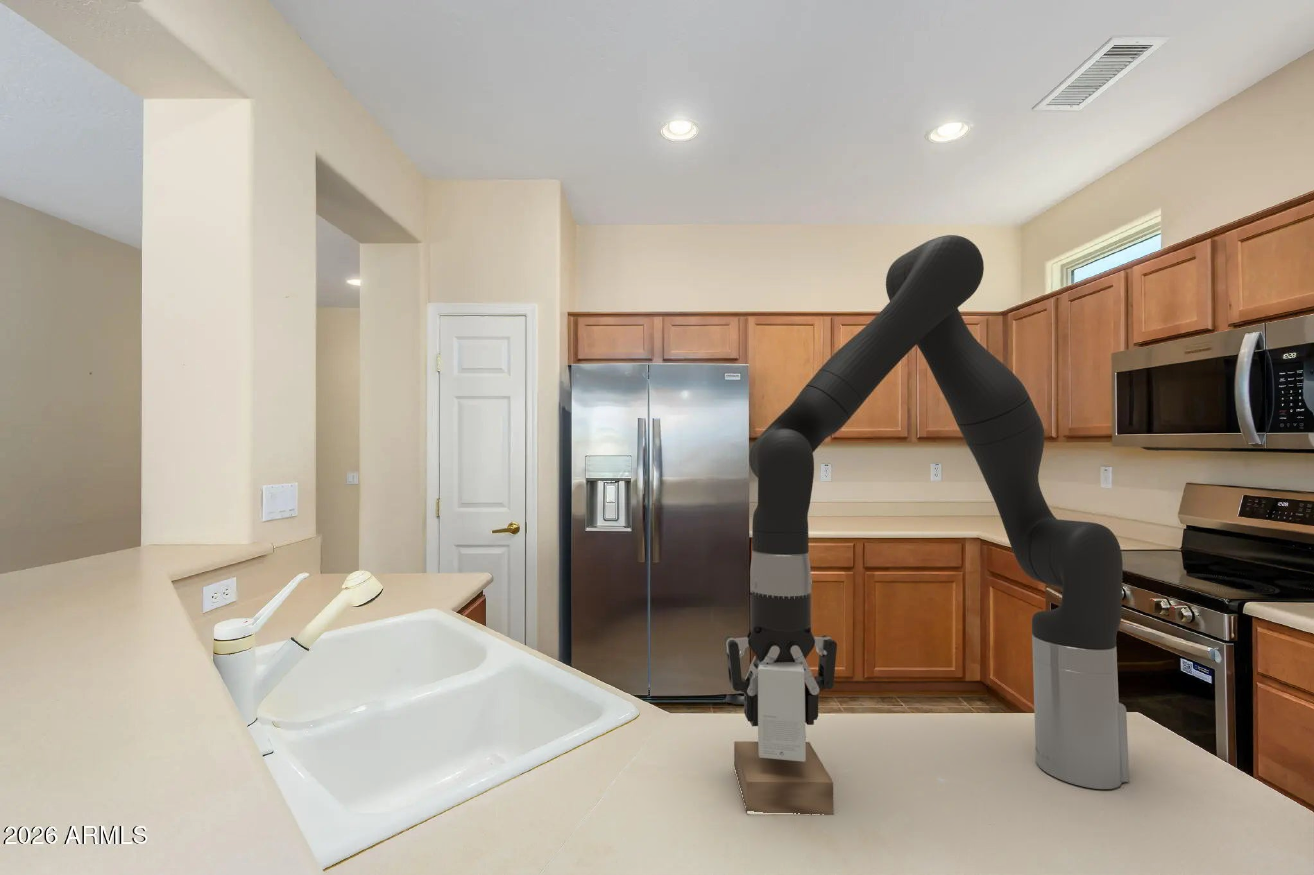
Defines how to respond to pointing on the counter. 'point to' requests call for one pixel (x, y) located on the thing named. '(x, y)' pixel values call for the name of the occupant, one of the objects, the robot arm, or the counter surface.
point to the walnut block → (782, 782)
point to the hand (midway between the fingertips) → (780, 722)
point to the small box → (781, 711)
